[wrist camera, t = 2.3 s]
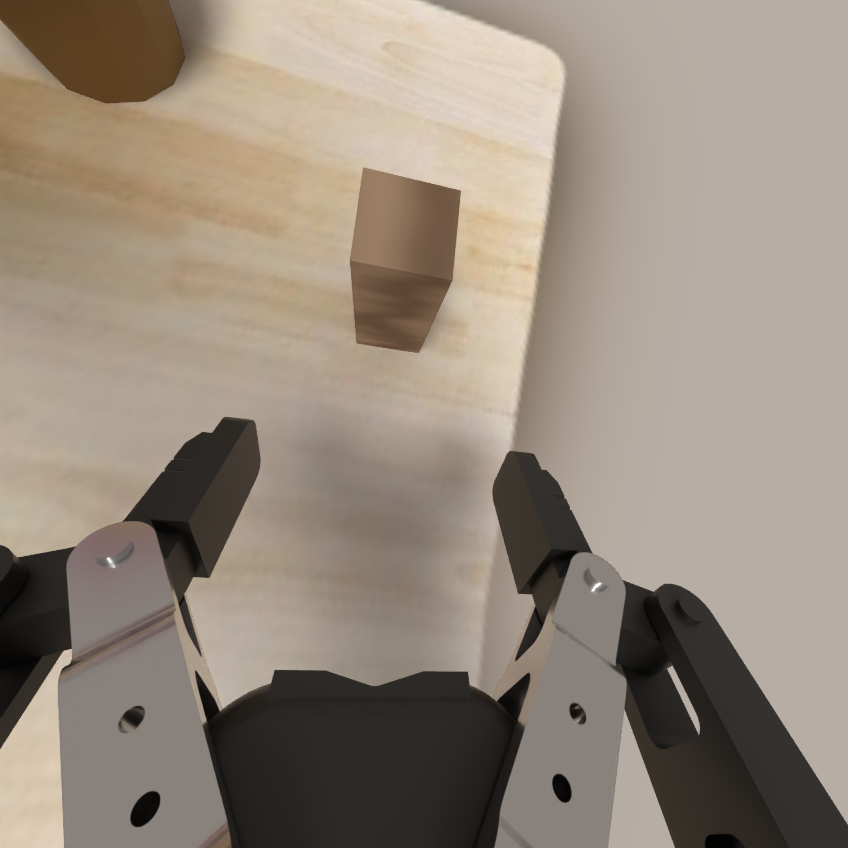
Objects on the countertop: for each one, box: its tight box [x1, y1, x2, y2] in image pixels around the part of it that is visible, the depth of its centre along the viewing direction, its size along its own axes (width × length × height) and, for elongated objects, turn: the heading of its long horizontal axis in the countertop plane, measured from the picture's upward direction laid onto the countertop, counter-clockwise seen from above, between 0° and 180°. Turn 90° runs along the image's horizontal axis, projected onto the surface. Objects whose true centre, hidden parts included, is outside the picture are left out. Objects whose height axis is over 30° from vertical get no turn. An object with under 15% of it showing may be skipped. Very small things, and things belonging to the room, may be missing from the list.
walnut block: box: [350, 168, 461, 353], centre depth 22 cm, size 5×5×11 cm
